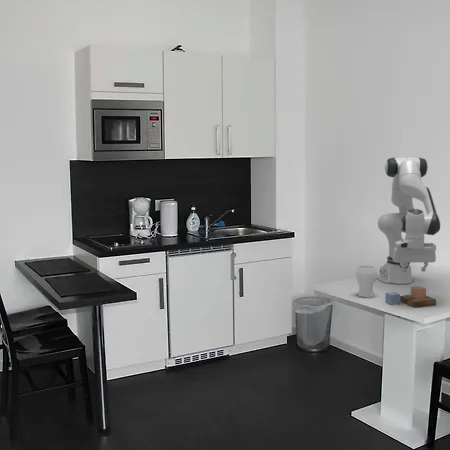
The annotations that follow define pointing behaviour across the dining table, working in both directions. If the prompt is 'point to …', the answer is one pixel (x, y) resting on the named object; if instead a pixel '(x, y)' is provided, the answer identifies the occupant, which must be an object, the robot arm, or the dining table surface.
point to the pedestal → (418, 301)
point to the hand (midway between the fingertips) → (413, 271)
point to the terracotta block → (418, 292)
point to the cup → (366, 279)
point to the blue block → (392, 298)
